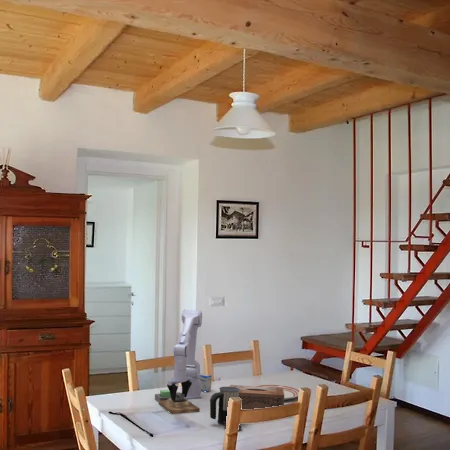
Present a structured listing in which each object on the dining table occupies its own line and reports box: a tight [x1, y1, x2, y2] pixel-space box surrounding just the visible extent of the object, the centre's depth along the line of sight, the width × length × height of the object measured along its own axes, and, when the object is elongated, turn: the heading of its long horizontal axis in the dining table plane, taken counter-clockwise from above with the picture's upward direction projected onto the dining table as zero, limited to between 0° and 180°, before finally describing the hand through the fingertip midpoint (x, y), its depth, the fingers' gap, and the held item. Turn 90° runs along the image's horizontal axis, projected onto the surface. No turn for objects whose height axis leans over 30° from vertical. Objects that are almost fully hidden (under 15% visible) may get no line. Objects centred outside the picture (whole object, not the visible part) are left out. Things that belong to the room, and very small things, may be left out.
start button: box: [159, 389, 170, 397], centre depth 287 cm, size 4×4×2 cm
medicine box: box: [198, 373, 213, 393], centre depth 311 cm, size 8×4×9 cm, turn 62°
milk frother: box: [209, 386, 242, 429], centre depth 251 cm, size 14×16×15 cm
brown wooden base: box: [158, 398, 200, 415], centre depth 275 cm, size 14×18×4 cm
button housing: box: [154, 393, 171, 403], centre depth 287 cm, size 8×8×2 cm
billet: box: [172, 391, 185, 402], centre depth 275 cm, size 4×4×5 cm
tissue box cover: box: [229, 384, 285, 409], centre depth 277 cm, size 26×14×10 cm, turn 87°
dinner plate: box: [256, 383, 300, 401], centre depth 306 cm, size 27×27×3 cm
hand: (178, 398), depth 275 cm, fingers open, 7 cm apart
